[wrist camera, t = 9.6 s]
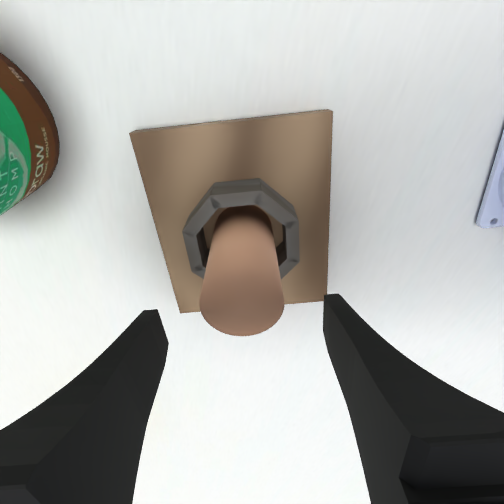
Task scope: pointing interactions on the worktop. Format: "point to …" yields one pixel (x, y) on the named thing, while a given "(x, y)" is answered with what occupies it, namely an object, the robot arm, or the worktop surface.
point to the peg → (242, 274)
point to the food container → (23, 137)
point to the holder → (241, 194)
